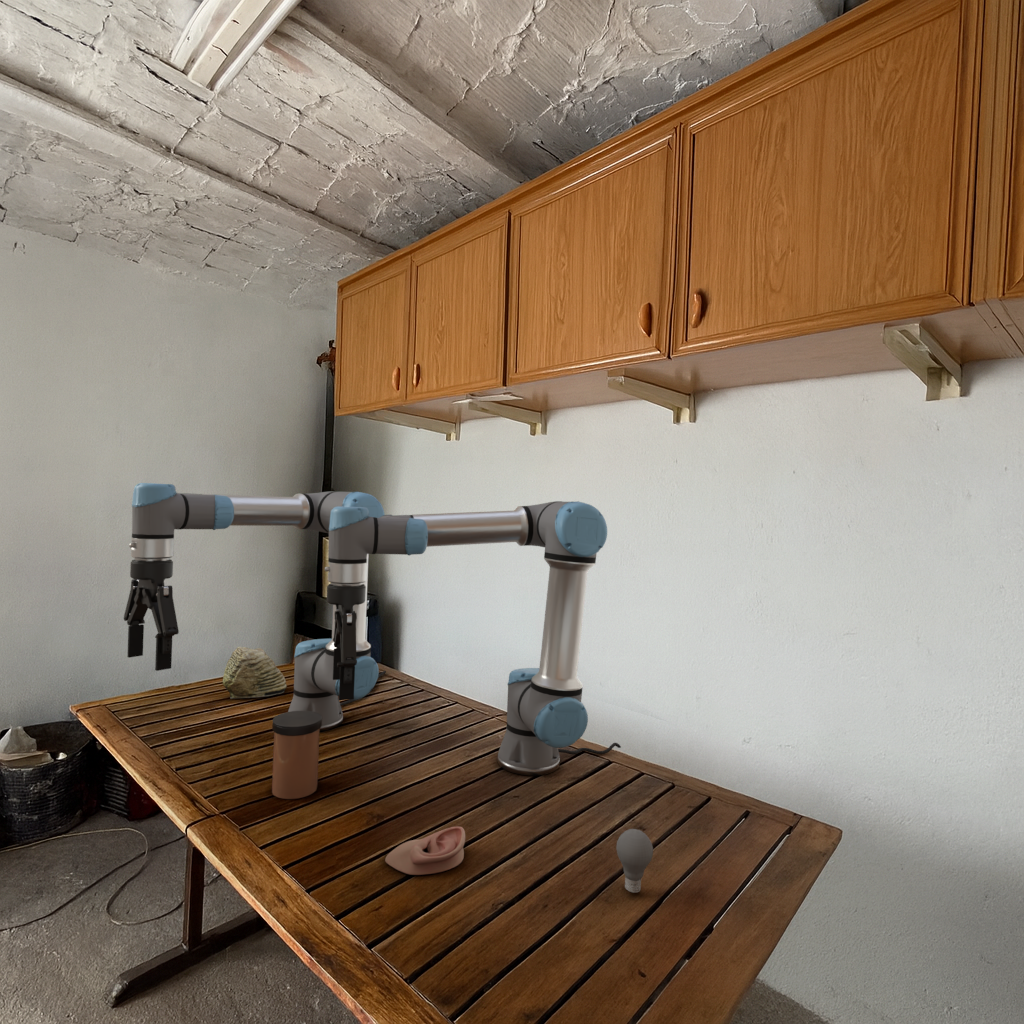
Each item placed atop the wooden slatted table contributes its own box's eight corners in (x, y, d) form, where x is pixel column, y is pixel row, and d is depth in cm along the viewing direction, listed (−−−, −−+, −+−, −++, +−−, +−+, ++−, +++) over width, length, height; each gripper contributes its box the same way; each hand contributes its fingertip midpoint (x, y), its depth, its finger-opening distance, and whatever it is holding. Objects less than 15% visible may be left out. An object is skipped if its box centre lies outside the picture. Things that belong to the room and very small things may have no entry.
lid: (285, 739, 129) (285, 730, 129) (264, 725, 137) (264, 716, 137) (330, 728, 137) (330, 719, 136) (308, 715, 144) (308, 707, 144)
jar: (283, 803, 130) (286, 731, 130) (264, 787, 137) (267, 719, 137) (325, 790, 137) (327, 721, 136) (304, 775, 143) (307, 710, 143)
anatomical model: (378, 846, 108) (403, 814, 120) (377, 869, 108) (402, 835, 120) (453, 858, 106) (471, 824, 117) (452, 882, 106) (470, 846, 117)
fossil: (218, 695, 195) (220, 647, 195) (278, 685, 208) (279, 640, 207) (228, 703, 189) (230, 653, 188) (289, 692, 201) (290, 645, 201)
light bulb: (610, 879, 108) (613, 822, 108) (644, 879, 109) (647, 822, 109) (619, 902, 102) (622, 840, 102) (655, 901, 103) (658, 840, 103)
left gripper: (108, 554, 134) (104, 654, 134) (159, 565, 118) (155, 678, 119) (146, 552, 140) (143, 648, 140) (199, 563, 124) (195, 671, 124)
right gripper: (322, 575, 137) (319, 672, 138) (332, 593, 114) (328, 710, 114) (358, 575, 140) (354, 670, 140) (374, 592, 117) (370, 707, 117)
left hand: (148, 662), depth 129 cm, fingers open, 13 cm apart
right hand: (342, 688), depth 127 cm, fingers open, 13 cm apart
